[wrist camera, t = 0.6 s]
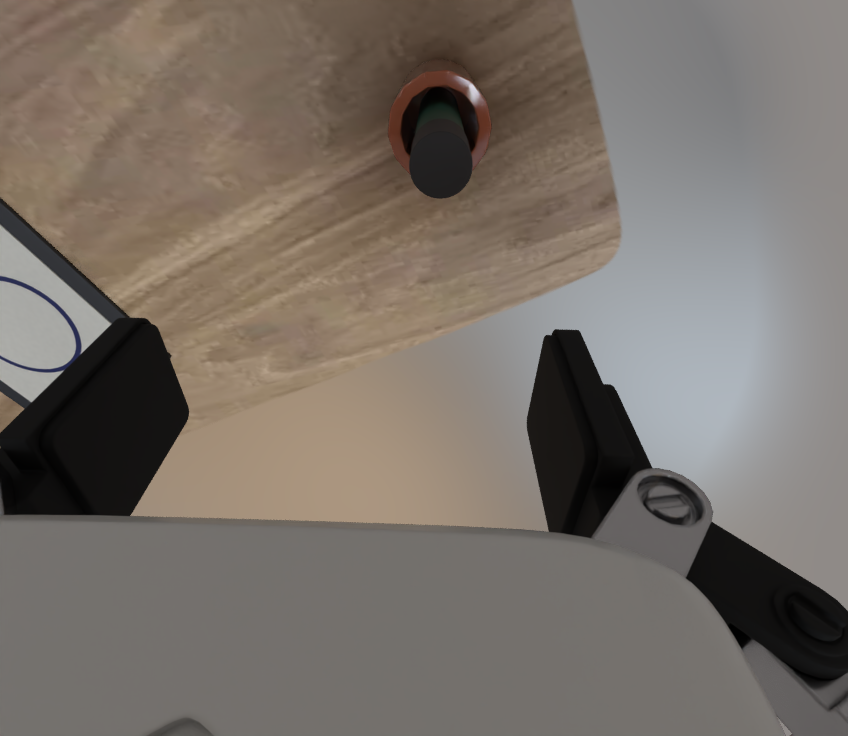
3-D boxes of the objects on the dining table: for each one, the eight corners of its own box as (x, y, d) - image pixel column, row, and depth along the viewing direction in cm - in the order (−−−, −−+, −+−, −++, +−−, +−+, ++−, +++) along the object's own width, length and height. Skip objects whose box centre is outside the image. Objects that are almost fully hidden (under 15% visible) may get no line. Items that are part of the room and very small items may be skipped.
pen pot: (381, 90, 27) (367, 110, 22) (456, 39, 26) (462, 46, 20) (423, 166, 30) (420, 201, 24) (493, 123, 28) (508, 150, 23)
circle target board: (-138, 289, 36) (-144, 292, 36) (-17, 182, 31) (-23, 184, 31) (51, 424, 44) (48, 427, 44) (171, 356, 39) (169, 359, 39)
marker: (411, 100, 27) (396, 153, 17) (446, 77, 26) (454, 117, 16) (431, 138, 28) (428, 210, 18) (465, 117, 28) (483, 179, 17)
